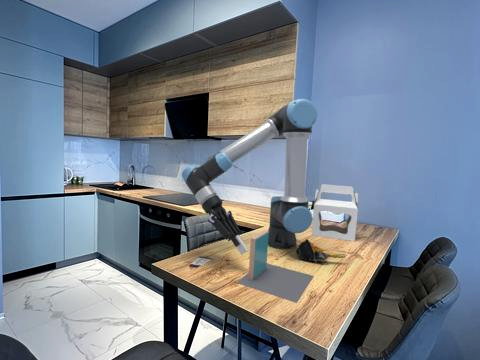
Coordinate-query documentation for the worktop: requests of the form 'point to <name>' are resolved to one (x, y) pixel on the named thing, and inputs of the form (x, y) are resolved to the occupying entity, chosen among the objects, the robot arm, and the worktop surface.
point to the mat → (279, 282)
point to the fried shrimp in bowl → (314, 252)
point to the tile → (258, 254)
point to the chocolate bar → (200, 261)
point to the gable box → (335, 207)
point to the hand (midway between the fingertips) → (245, 252)
